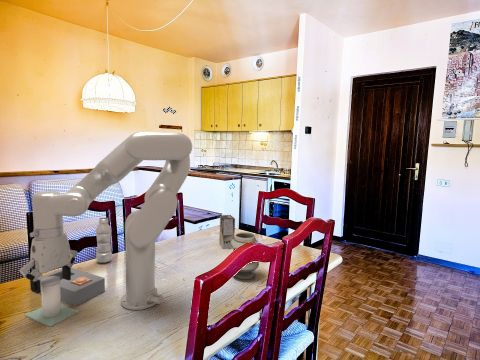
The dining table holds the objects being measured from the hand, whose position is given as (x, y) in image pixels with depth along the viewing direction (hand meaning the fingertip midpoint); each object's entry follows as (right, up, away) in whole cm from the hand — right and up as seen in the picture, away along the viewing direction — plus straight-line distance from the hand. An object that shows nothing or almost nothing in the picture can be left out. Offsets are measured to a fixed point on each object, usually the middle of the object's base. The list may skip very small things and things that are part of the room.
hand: (52, 285), depth 95 cm
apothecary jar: (+60, -8, +34) cm, 69 cm away
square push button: (+2, -8, +13) cm, 15 cm away
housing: (-3, -8, +16) cm, 18 cm away
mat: (-1, -9, +1) cm, 9 cm away
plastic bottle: (-3, -4, +43) cm, 43 cm away
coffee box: (+51, -3, +71) cm, 87 cm away
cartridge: (-1, -9, +1) cm, 9 cm away
